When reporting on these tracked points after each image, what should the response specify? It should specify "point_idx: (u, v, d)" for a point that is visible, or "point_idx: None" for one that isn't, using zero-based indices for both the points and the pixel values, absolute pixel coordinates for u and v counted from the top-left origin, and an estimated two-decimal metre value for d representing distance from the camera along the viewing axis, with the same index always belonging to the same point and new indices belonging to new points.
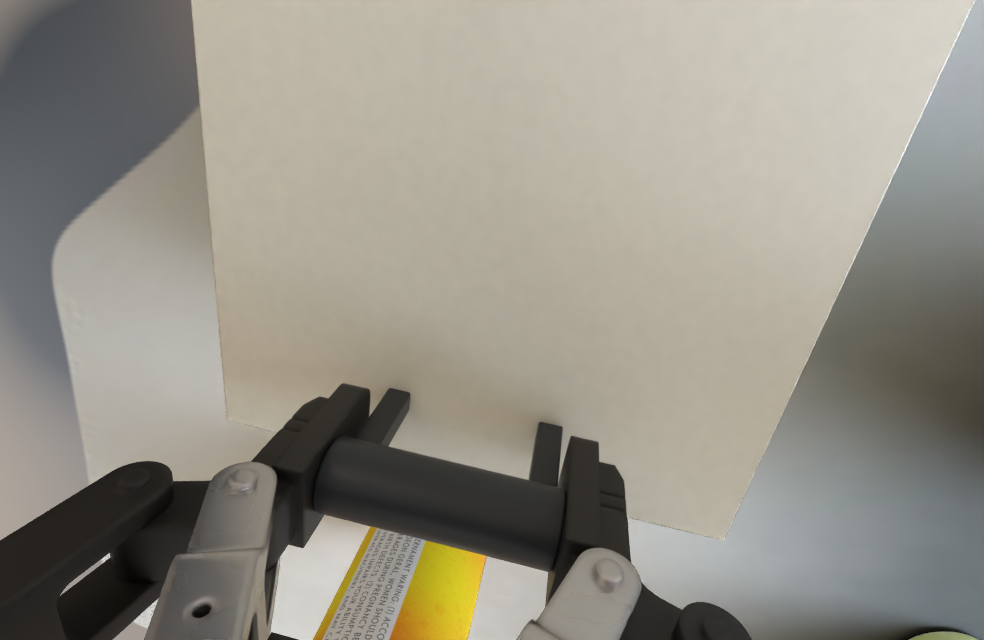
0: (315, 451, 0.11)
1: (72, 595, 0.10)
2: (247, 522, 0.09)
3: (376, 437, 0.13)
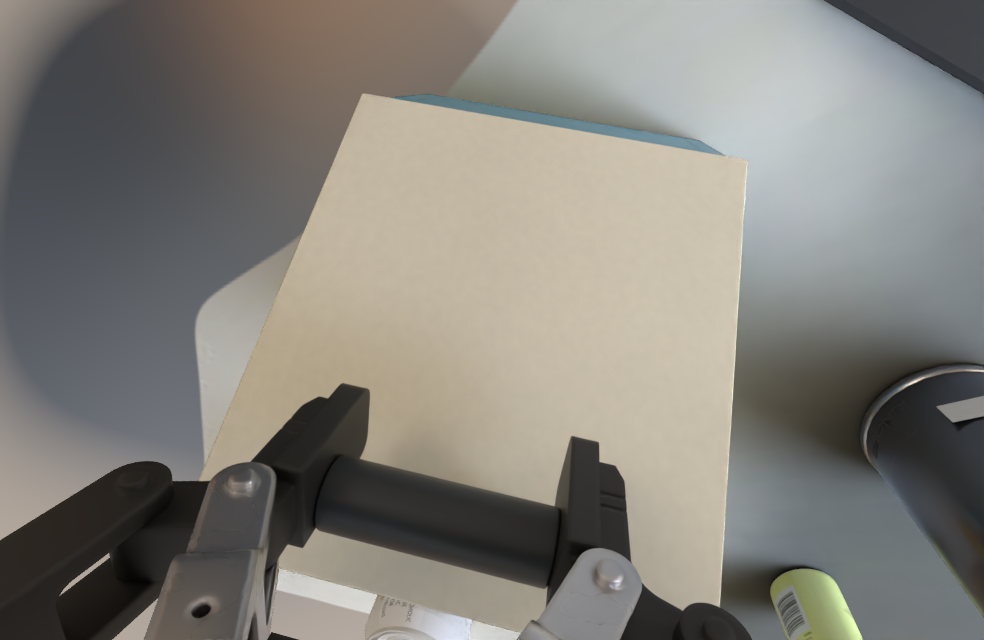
0: (315, 451, 0.11)
1: (71, 595, 0.10)
2: (247, 522, 0.09)
3: None
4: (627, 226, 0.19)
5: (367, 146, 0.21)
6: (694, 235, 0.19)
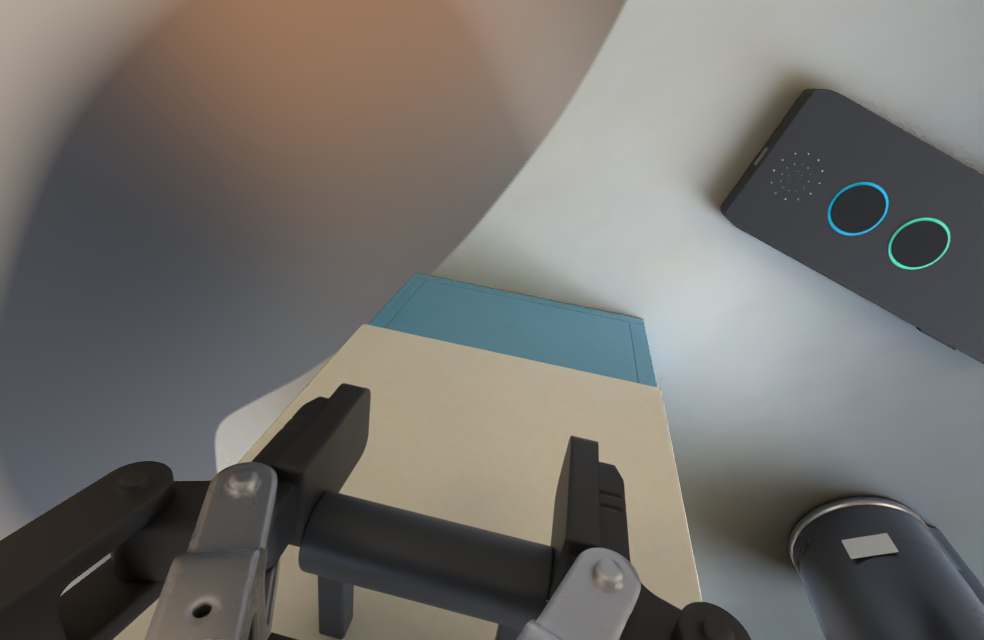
0: (316, 451, 0.11)
1: (73, 595, 0.10)
2: (248, 522, 0.09)
3: None
4: (576, 417, 0.23)
5: (362, 351, 0.26)
6: (631, 427, 0.23)
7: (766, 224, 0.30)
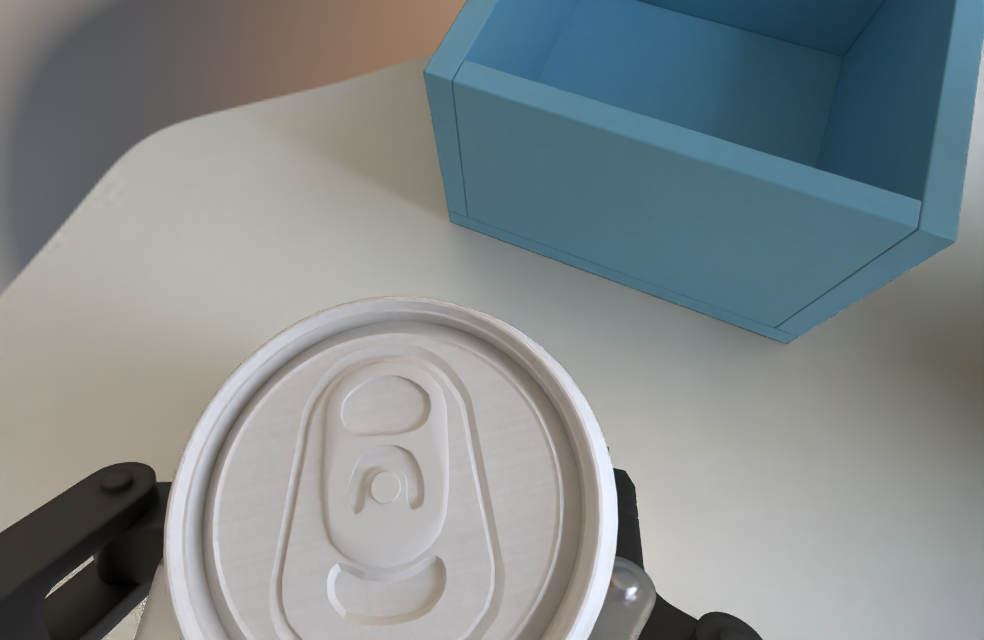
0: None
1: (55, 599, 0.09)
2: None
3: None
4: None
5: None
6: None
7: None
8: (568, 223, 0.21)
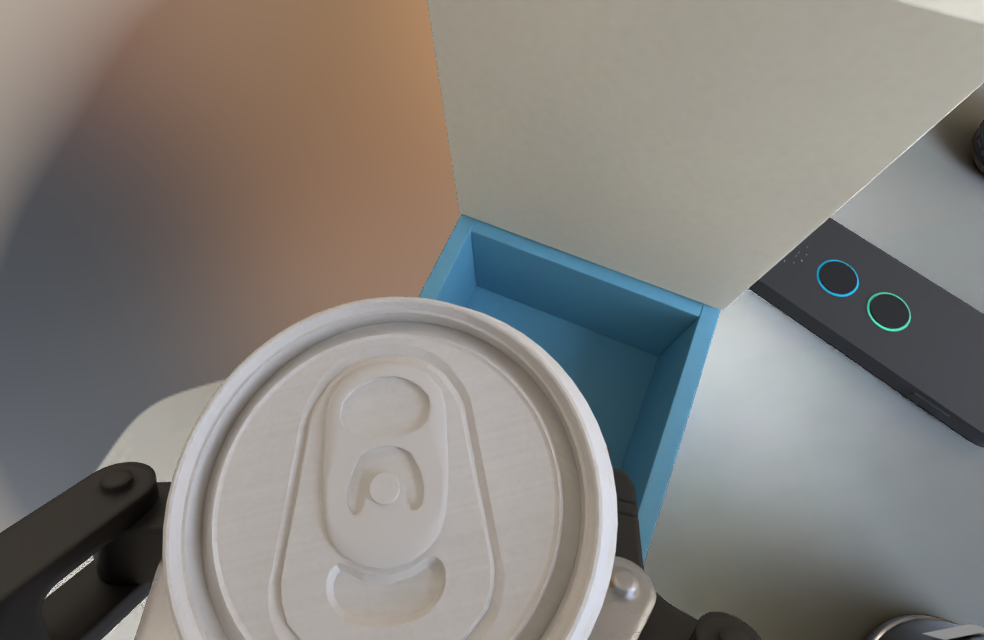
0: None
1: (55, 599, 0.09)
2: None
3: None
4: None
5: None
6: None
7: (773, 276, 0.38)
8: None
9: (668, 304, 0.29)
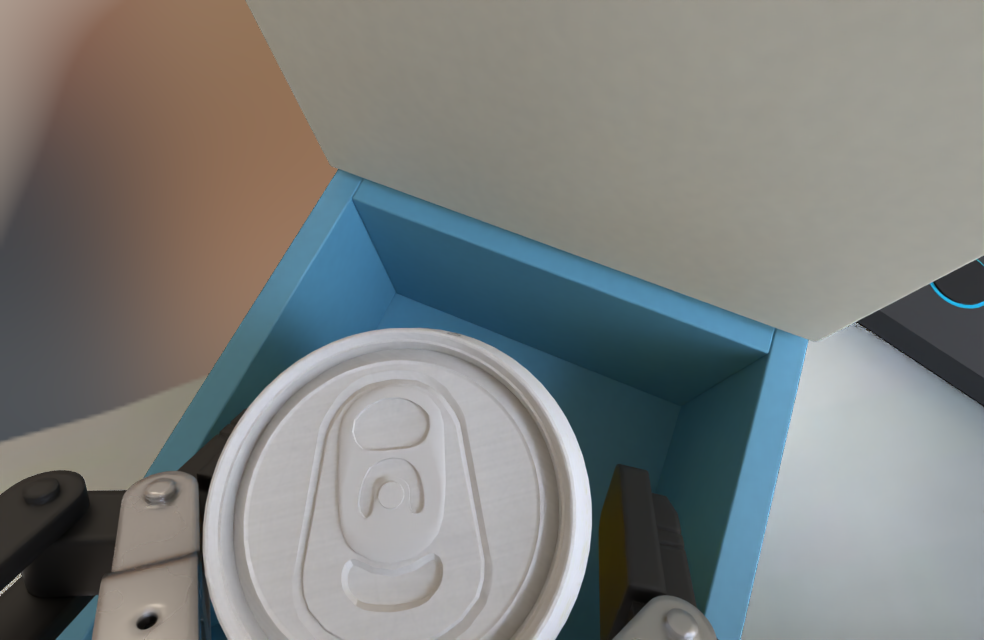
0: None
1: None
2: (175, 531, 0.09)
3: None
4: None
5: None
6: None
7: None
8: None
9: (710, 331, 0.16)
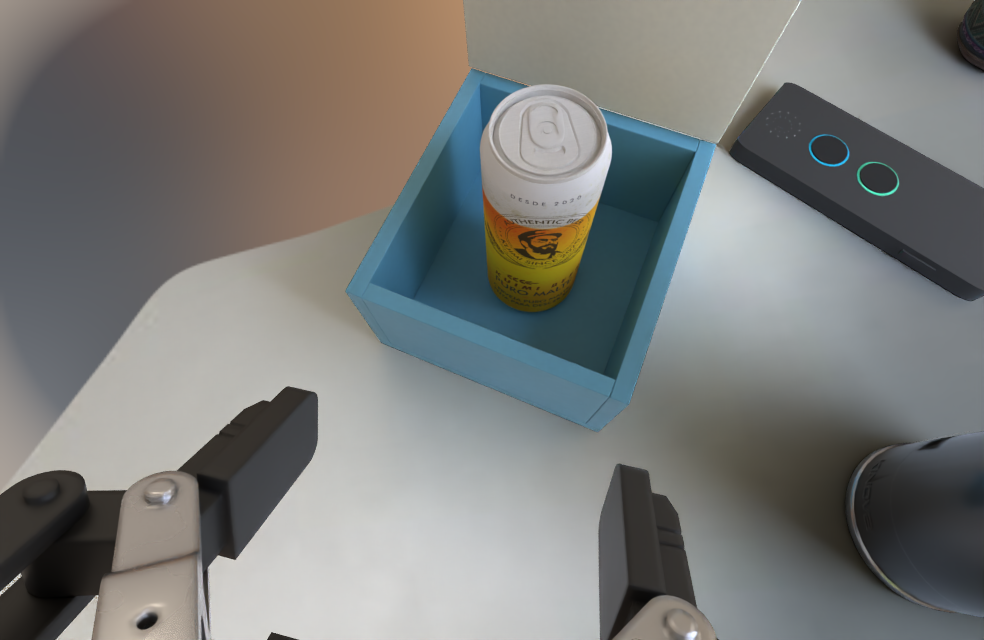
0: (246, 458, 0.11)
1: None
2: (174, 531, 0.09)
3: None
4: None
5: None
6: None
7: (767, 149, 0.40)
8: (448, 359, 0.33)
9: (667, 142, 0.31)
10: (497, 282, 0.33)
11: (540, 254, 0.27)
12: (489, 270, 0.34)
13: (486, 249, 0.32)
